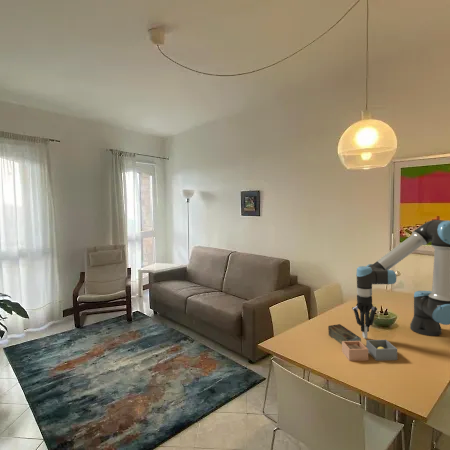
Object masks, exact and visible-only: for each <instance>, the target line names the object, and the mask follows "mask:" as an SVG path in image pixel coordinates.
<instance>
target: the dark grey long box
mask: <svg viewBox="0 0 450 450" xmlns="http://www.w3.org/2000/svg"><path fill="white" fill-rule="evenodd" d="M327 330H328V336H329V338H332V339H333V340H335V341H336V342H338V343H339V344H340V345H342V341H361V342H362V339H361V337H360V336H358V335H357V334H355V333H354V332H353V331H351V330H350V329H348V328H347V327H345V326H344V325H342V324H340V323H339V324H332V325H328V328H327Z"/></svg>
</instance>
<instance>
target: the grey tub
mask: <svg viewBox="0 0 450 450" xmlns="http://www.w3.org/2000/svg"><path fill="white" fill-rule="evenodd" d="M365 342H366V343H365V344H366V345H365V346H366V347H367V348H368V355H370V356H371V357H372V358H373V359H374V360H375V362H377V361H378V362H379V361H382V362H384V361H398V348H397V347H396V346H394V345H393V344H392V343H391V342H390V341H389V340H387V339H367V340H365ZM378 347H383V348H384V349H377V348H378Z"/></svg>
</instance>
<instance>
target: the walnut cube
mask: <svg viewBox="0 0 450 450" xmlns="http://www.w3.org/2000/svg"><path fill="white" fill-rule="evenodd" d="M348 347H349V348H350V349H362V348H361V347H359V346H357V345H356V344H354V345H348Z"/></svg>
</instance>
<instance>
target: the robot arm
mask: <svg viewBox="0 0 450 450" xmlns="http://www.w3.org/2000/svg"><path fill="white" fill-rule="evenodd" d="M429 243H430V245H431V247H432V248H433V249H434V250H433V251H434V255H433V271H432V288H431V290H416V291H414V294H413V317H412V320H411V322H410V326H409V328H410V330H411V331H413V332H414V333H417V334H420V335H424V336H431V337H434V336H435V337H436V336H441V335H442V326H441V325H444V326H448V325H450V220H444V219H443V220H442V219H441V220H440V219H432V220H429V221H427V222H424V223H423V224H421V225H420V226H419V227H417V228H416V229H415V230H414V231H412V232H411V235H410V236H408V237H407V238H406V239H405V240H403V241H402V242H401V243H399V244H398V245H397V246H395V247H394V248H393V249H391V250H390V251H388V252H387V253H385V255H383V256H381V258H379V259H377V261H376V262H374V263H369V264H367V265H365V266H364V265H360V266H358V267H357V268H356V294H357V295H356V306H354V307H353V306H352V308H351V309H352V311H353V313H354V316H355V320H356V323H357V325H358V326H360V332H362V338H363V339H368V332H369V331H370V326H373V324H374V319H375V316H376V312H377V311H378V308H377V307H376V306H374V304H373V285H394V284H395V283H397V274H396V272H395V271H394V270H392V268H393V267H394V266H396V265H397V264H399V263H400V262H401V261H403V260H404V259H405V258H407V257H408V256H409V255H410V254H412V253H414V252H415V251H416V250H418V249H419V248H420V247H422V246H426V245H427V244H429ZM359 314H360V315H359Z"/></svg>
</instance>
